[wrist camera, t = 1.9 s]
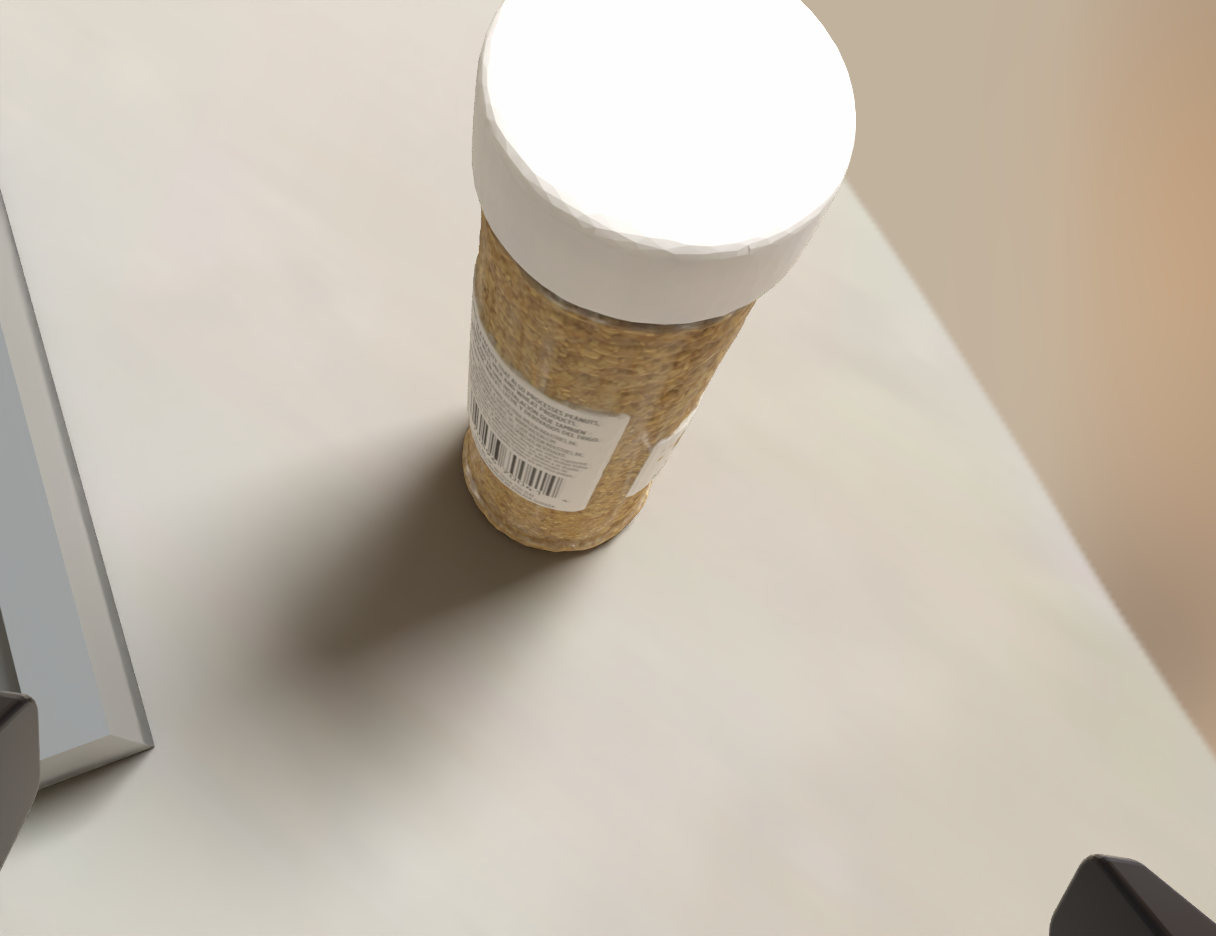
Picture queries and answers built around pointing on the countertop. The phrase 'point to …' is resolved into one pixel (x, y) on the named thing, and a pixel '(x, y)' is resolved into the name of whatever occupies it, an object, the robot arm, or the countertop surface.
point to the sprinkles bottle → (630, 234)
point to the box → (54, 564)
